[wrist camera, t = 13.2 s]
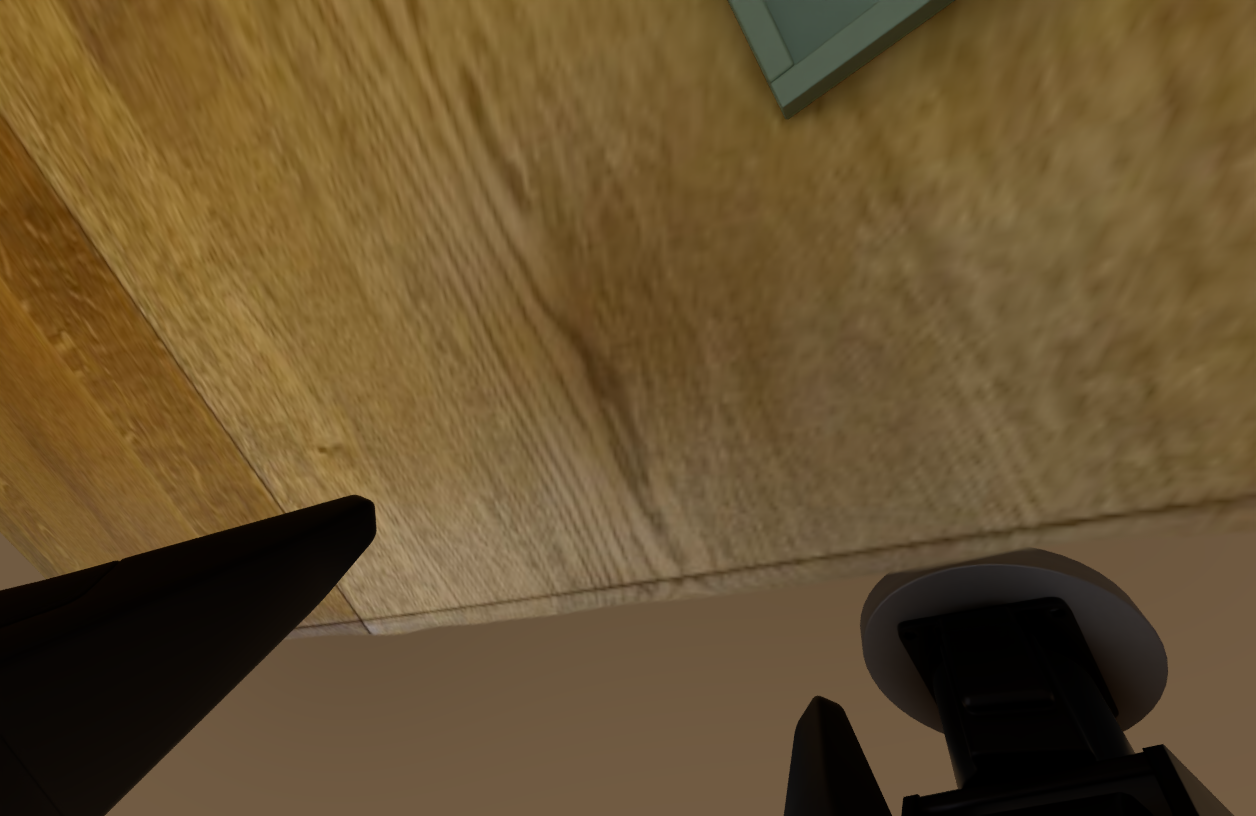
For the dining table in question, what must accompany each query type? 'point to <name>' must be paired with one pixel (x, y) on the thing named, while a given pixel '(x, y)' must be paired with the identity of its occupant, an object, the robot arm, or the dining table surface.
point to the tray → (823, 40)
